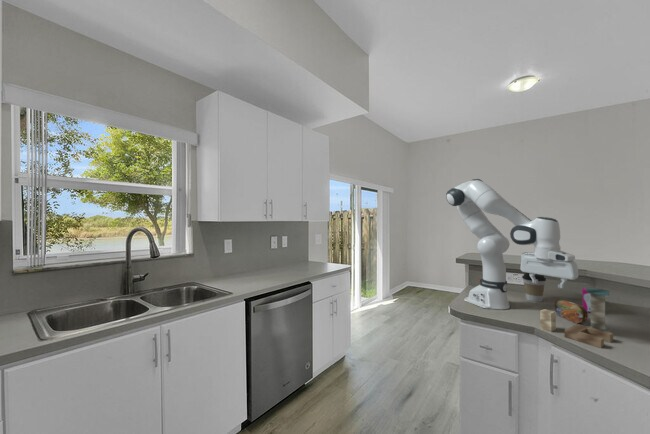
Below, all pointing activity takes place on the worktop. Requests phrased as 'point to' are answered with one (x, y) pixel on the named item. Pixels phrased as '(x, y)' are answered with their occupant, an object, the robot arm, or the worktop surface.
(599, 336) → the notched board
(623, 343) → the worktop surface
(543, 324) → the maple block
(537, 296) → the coffee cup
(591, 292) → the bobbin post
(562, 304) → the tin
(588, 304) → the supplement box
